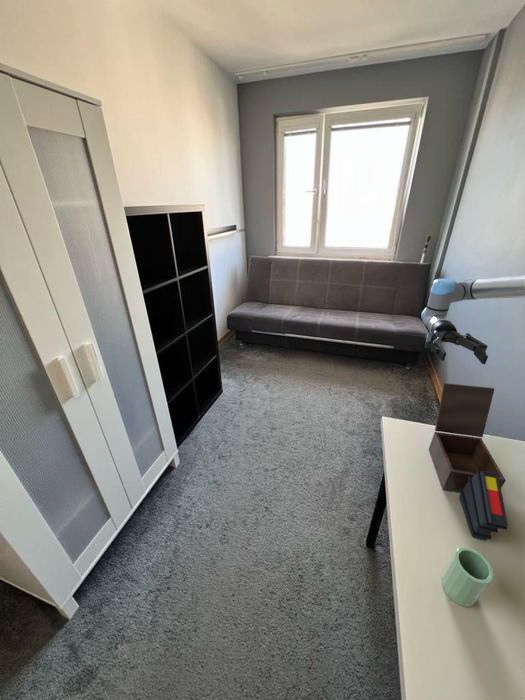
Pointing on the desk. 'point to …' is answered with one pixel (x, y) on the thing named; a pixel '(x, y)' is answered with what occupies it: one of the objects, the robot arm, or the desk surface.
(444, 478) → the case
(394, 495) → the desk surface
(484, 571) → the pencil cup
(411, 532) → the desk surface
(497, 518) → the black layered block
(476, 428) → the cover
